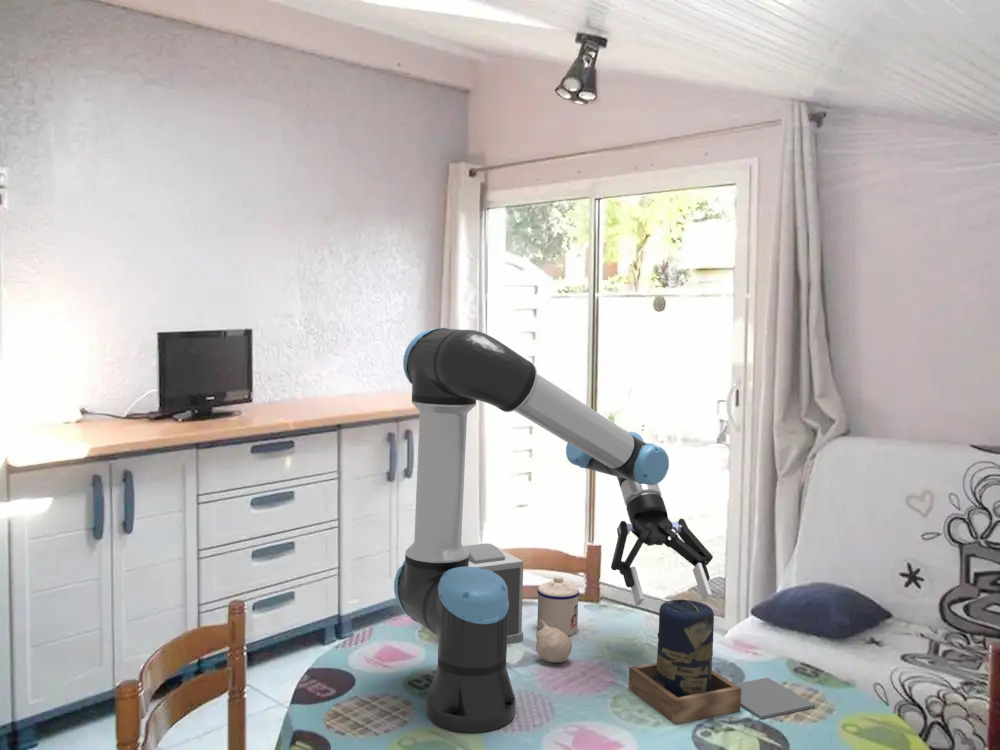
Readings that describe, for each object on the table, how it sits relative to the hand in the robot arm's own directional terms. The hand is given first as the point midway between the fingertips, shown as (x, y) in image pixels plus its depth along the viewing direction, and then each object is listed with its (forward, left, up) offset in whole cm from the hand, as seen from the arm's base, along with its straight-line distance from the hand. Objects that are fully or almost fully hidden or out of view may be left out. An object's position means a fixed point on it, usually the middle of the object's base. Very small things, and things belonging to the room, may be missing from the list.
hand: (674, 600), depth 157 cm
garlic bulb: (-16, +16, -16) cm, 28 cm away
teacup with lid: (-7, +32, -16) cm, 36 cm away
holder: (-2, -7, -15) cm, 17 cm away
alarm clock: (-24, +36, -16) cm, 46 cm away
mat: (+12, -12, -15) cm, 23 cm away
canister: (-2, -7, -16) cm, 17 cm away
